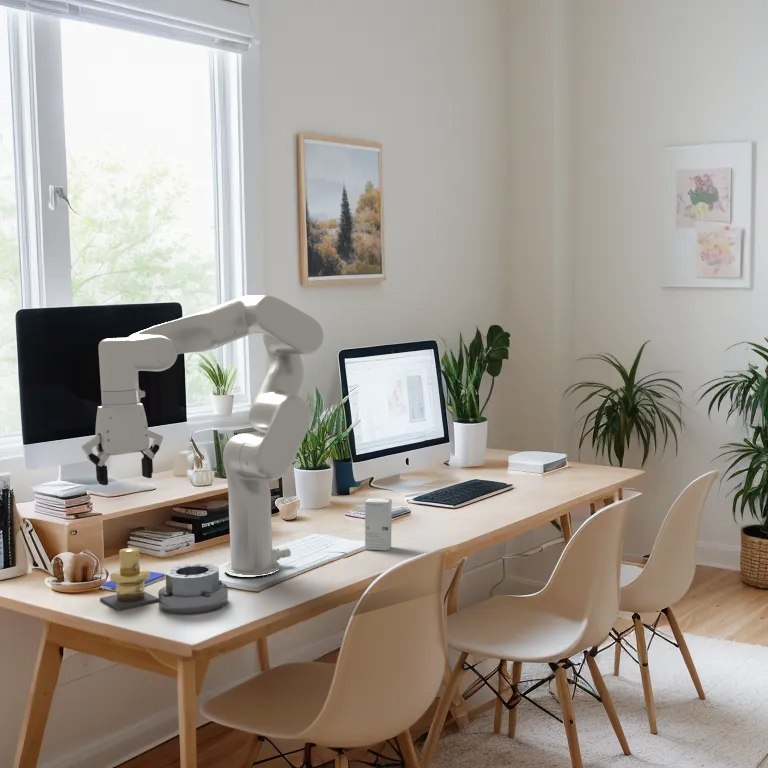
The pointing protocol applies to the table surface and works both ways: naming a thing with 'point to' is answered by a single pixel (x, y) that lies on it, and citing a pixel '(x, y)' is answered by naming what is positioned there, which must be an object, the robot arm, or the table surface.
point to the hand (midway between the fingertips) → (125, 480)
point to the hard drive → (153, 578)
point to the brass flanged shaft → (130, 576)
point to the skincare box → (378, 524)
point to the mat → (121, 605)
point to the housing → (193, 590)
